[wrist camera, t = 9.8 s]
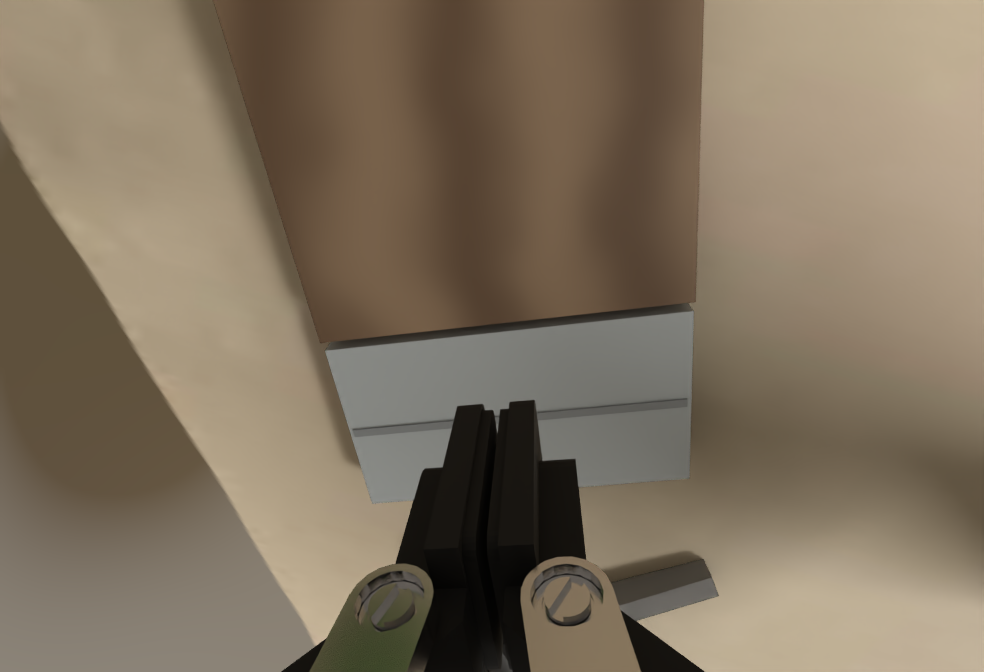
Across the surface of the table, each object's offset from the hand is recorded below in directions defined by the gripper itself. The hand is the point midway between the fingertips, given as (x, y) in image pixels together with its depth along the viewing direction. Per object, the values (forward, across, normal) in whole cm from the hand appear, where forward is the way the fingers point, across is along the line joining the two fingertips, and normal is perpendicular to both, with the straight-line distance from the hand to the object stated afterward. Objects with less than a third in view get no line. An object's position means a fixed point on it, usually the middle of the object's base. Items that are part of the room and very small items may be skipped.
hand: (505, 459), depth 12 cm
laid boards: (+14, +1, +7) cm, 15 cm away
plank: (+13, +1, -5) cm, 14 cm away
